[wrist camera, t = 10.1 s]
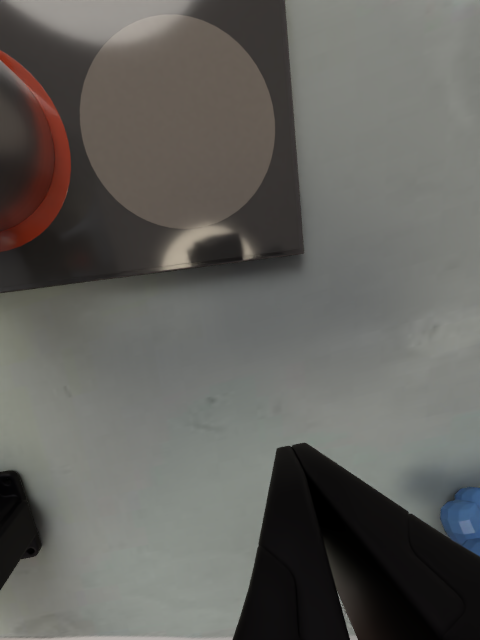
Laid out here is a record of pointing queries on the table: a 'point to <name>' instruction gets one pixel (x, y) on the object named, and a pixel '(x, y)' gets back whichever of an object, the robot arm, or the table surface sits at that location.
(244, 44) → the hob
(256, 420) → the table surface
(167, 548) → the table surface
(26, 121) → the pot
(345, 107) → the table surface
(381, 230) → the table surface
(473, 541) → the grapes
